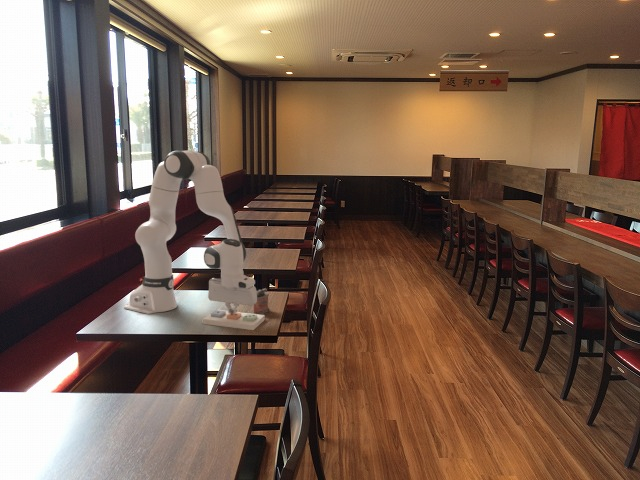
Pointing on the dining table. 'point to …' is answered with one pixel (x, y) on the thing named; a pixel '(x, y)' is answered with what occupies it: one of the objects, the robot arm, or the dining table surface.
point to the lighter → (261, 302)
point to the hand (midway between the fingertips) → (232, 313)
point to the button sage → (250, 317)
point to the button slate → (218, 313)
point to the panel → (233, 321)
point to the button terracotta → (234, 316)
